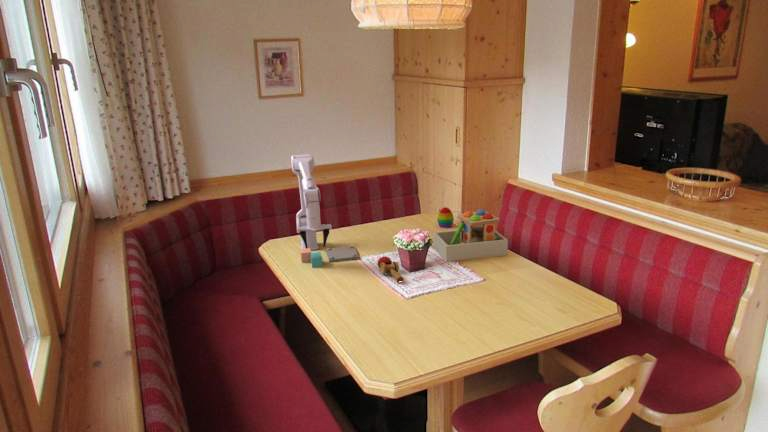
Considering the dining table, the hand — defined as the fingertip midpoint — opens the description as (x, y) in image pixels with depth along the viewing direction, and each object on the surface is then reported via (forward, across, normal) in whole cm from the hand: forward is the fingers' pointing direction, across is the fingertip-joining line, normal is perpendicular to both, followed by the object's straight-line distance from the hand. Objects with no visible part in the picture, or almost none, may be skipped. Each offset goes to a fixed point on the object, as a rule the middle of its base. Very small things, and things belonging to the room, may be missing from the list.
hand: (315, 246), depth 234 cm
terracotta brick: (+8, -4, +7) cm, 11 cm away
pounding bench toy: (+8, +68, -3) cm, 69 cm away
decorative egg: (+8, +69, +34) cm, 77 cm away
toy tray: (+8, +68, -3) cm, 69 cm away
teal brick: (+8, 0, 0) cm, 8 cm away
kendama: (+8, +29, -20) cm, 36 cm away
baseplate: (+8, +12, +8) cm, 17 cm away
